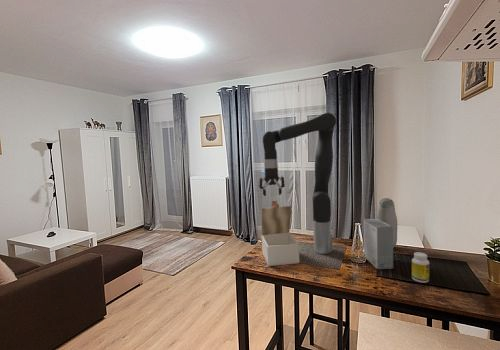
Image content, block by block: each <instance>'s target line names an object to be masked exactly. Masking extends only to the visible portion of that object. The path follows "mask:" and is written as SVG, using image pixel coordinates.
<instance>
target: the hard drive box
mask: <svg viewBox="0 0 500 350" xmlns="http://www.w3.org/2000/svg"><path fill="white" fill-rule="evenodd" d="M364 254H365V257H366V258H365V257H364V258H365V259H366V260H367V261H368V262H369V263H370V264H372V266H373V267H374V268H375V269H376V270H392V269H394V248H393V227H392V226H391V225H389V224H387V223H385V222H383V221H381V220H379V219H377V218H364V219H363V255H364Z"/></svg>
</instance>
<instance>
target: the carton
mask: <svg viewBox="0 0 500 350" xmlns="http://www.w3.org/2000/svg"><path fill="white" fill-rule="evenodd" d="M261 251H262V254H263V258H264V260H265V262H266V263H267V266H268V267H272V266H282V265H283V266H284V265H293V264H300V245H299V242H298V241H297V240H296V239H295V237H294V236H293V235H292V234H291V233H290V232H289V233H280V234H268V235H261Z"/></svg>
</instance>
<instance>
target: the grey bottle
mask: <svg viewBox="0 0 500 350" xmlns="http://www.w3.org/2000/svg"><path fill="white" fill-rule="evenodd" d="M395 209H396V208H395V202H394V200H392V199H391V198H389V197H388V198H386V197H385V198H382V199H381V200H379V202H378V210H377V215H376V219H379V220H381V221H383V222H385V223H387V224H389V225H391V226H392V227H393V249H395V247H396V245H397V242H398V217H397V214H396V210H395Z"/></svg>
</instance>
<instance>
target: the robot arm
mask: <svg viewBox="0 0 500 350" xmlns="http://www.w3.org/2000/svg"><path fill="white" fill-rule="evenodd" d="M336 123H337V119H336V116H335V115H334V114H333V113H331V112H324V113H322V114H321V115H319V116H317V117H314V118H312V119H309V120H306V121H303V122H300V123H296V124H291V125H288V126H285V127H284V126H283V127H282V128H280V129H276V130H273V131H265V132H264V133H263V134H262V145H263V151H264V153H263V155H264V161H263V162H264V177H259V182H258V184H259V185H258V187H259V189H260V190H262V195H263V196H264V197H266V196H267V191H266V189H267V188H268V186H272V185H273V186H275V185H276V186H277V187H278V196H281V194H282V189H283V188H285V177H284V176H279V169H278V168H279V165H278V154H277V149H276V144H277V143H279V142H283V141H287V140H291V139H295V138H298V137H301V136H304V135H306V134H309V133H315V132H318V133H317V134H318V139H317V145H316V151H315V159H314V186H313V187H314V189H313V193H312V199H311V200H312V219H313V220H312V223H313V224H312V227H313V233H312V234H313V251H314V252H315V253H316V254H320V255H321V254H322V255H325V254H326V255H327V254H330V253H333V234H331V233H332V231H331V226H332V225H331V216H332V215H331V214H332V213H331V212H332V210H331V209H332V206H331V198H330V195H329V182H330V178H331V175H332V170H333V164H334V163H333V162H334V149H333V134H334V131H335V130H334V129H335V127H336ZM279 180H280V181H281V182H280V183H281V184H280V183H279ZM264 181H265V183H264V184H263V182H264Z"/></svg>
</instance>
